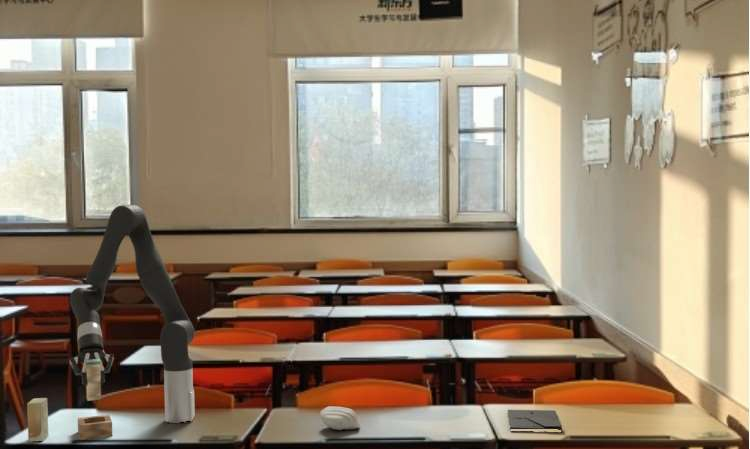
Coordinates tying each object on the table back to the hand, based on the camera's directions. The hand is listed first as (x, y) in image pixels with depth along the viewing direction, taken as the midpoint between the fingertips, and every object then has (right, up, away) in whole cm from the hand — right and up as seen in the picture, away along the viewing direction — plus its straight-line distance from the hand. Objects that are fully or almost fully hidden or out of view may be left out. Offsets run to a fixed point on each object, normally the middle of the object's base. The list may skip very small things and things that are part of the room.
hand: (94, 383), depth 249 cm
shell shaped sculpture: (+77, -15, +4) cm, 78 cm away
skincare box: (-16, -17, -3) cm, 23 cm away
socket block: (-1, -16, +2) cm, 16 cm away
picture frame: (+139, -15, +7) cm, 140 cm away
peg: (-1, -5, +2) cm, 5 cm away
